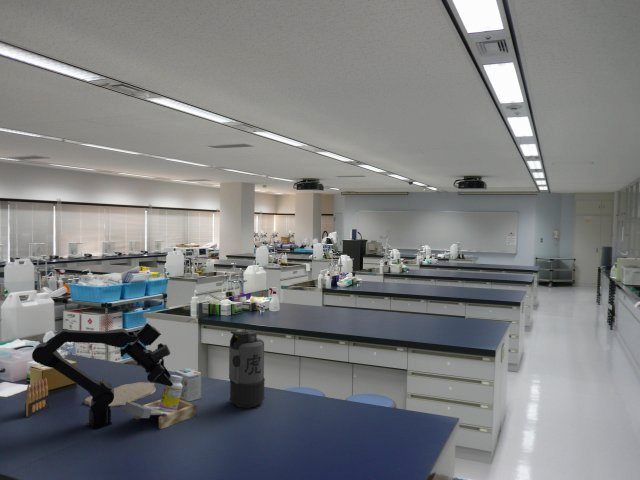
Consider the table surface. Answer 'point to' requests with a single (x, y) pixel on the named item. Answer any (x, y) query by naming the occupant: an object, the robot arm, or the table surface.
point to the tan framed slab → (174, 413)
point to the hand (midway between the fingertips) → (171, 381)
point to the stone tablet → (129, 393)
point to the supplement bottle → (171, 394)
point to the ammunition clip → (36, 398)
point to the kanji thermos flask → (246, 369)
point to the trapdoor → (143, 410)
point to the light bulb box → (190, 384)
